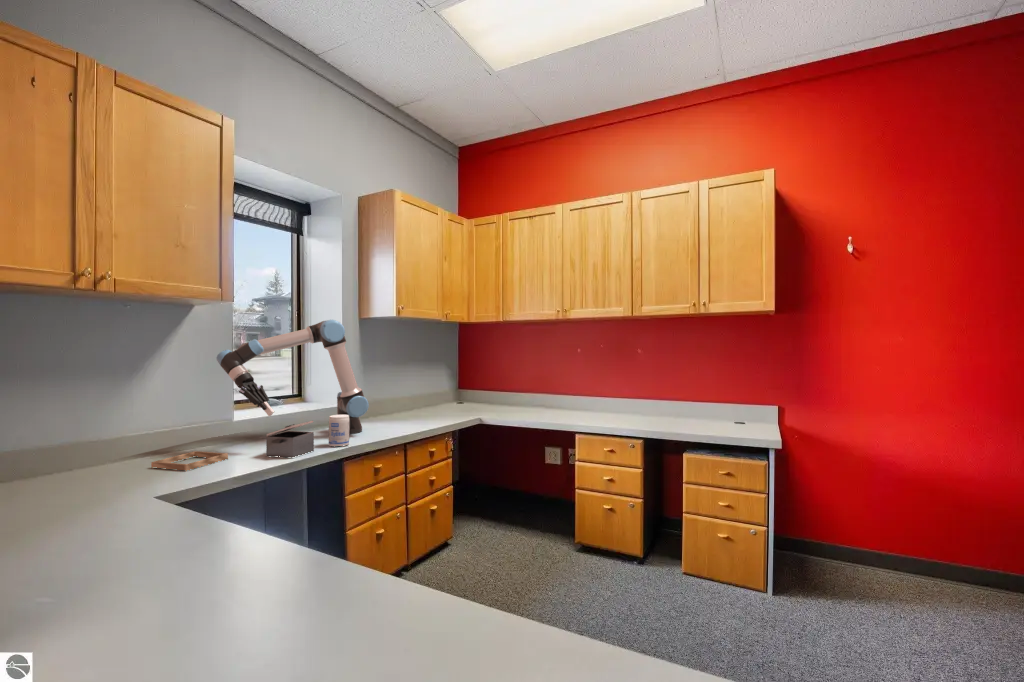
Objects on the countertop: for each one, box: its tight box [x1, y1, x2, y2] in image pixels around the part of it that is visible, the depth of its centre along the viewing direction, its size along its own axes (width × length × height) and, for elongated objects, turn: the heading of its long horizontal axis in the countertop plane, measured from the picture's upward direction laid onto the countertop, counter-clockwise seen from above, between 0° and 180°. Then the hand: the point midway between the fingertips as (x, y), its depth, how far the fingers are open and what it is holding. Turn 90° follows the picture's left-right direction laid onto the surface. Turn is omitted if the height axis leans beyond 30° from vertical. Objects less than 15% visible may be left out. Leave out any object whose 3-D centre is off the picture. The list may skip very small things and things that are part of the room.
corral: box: [150, 450, 229, 472], centre depth 203 cm, size 20×18×2 cm
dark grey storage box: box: [265, 430, 315, 458], centre depth 220 cm, size 19×14×9 cm
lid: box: [266, 420, 314, 436], centre depth 220 cm, size 14×15×2 cm
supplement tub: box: [328, 414, 350, 448], centre depth 238 cm, size 10×10×15 cm
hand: (271, 413), depth 223 cm, fingers closed
